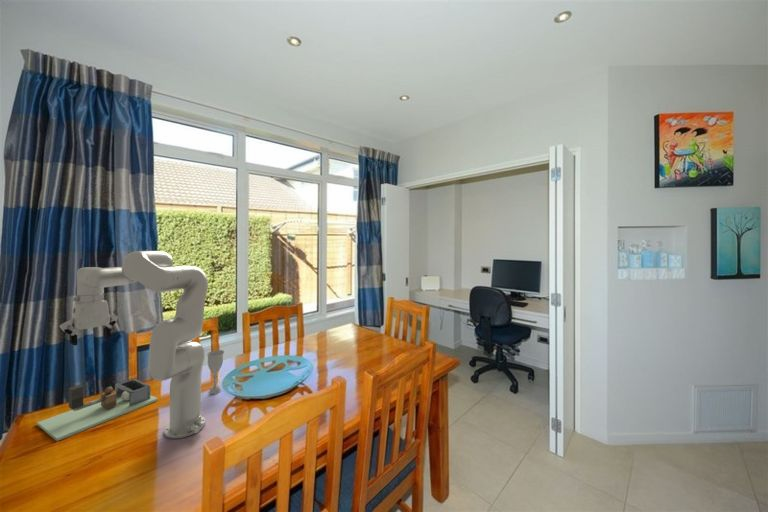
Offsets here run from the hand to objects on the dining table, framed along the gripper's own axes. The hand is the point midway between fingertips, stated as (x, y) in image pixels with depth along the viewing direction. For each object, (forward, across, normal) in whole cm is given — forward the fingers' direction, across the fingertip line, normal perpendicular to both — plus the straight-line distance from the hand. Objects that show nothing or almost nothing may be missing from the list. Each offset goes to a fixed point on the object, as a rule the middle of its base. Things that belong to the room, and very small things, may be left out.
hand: (90, 341), depth 117 cm
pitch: (+28, +1, -6) cm, 28 cm away
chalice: (+28, +32, -29) cm, 52 cm away
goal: (+28, +11, -6) cm, 31 cm away
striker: (+26, -2, -6) cm, 27 cm away
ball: (+25, +9, -6) cm, 27 cm away
